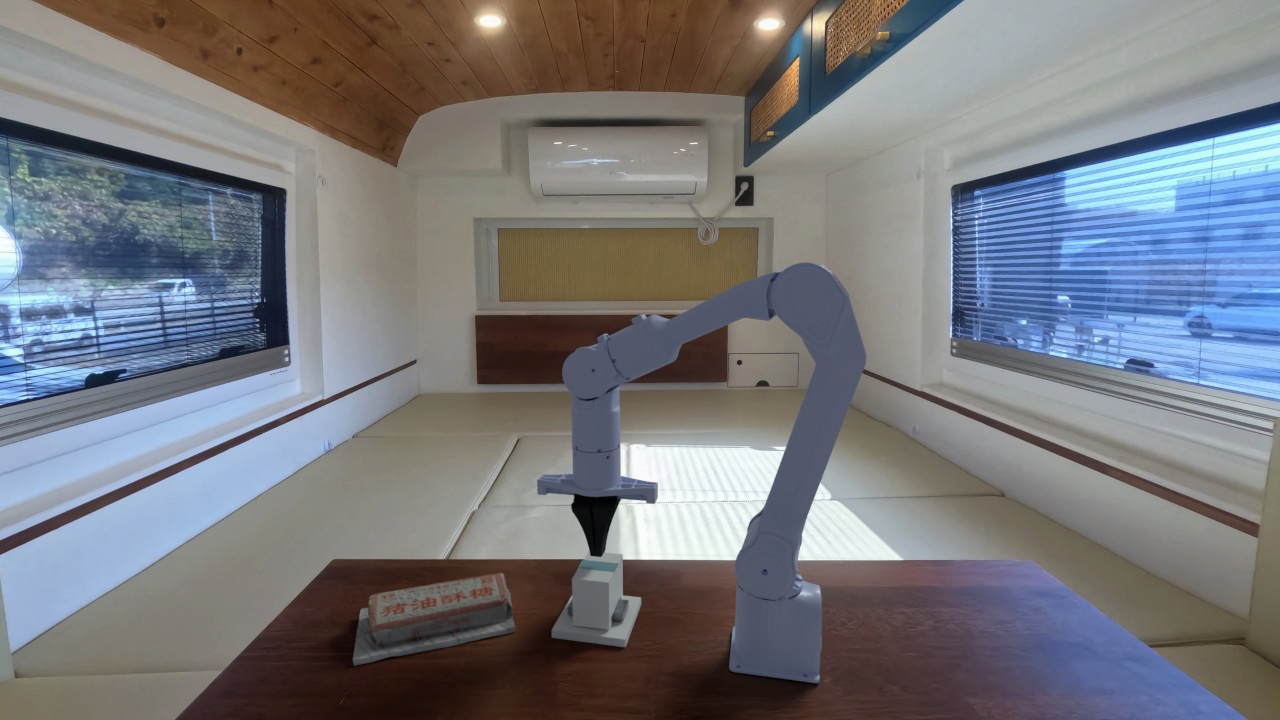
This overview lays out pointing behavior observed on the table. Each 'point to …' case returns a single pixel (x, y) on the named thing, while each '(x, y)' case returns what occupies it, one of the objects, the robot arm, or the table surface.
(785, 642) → the robot arm
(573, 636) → the base
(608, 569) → the block
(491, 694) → the table surface
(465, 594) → the packaged product
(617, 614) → the dark grey flat block
